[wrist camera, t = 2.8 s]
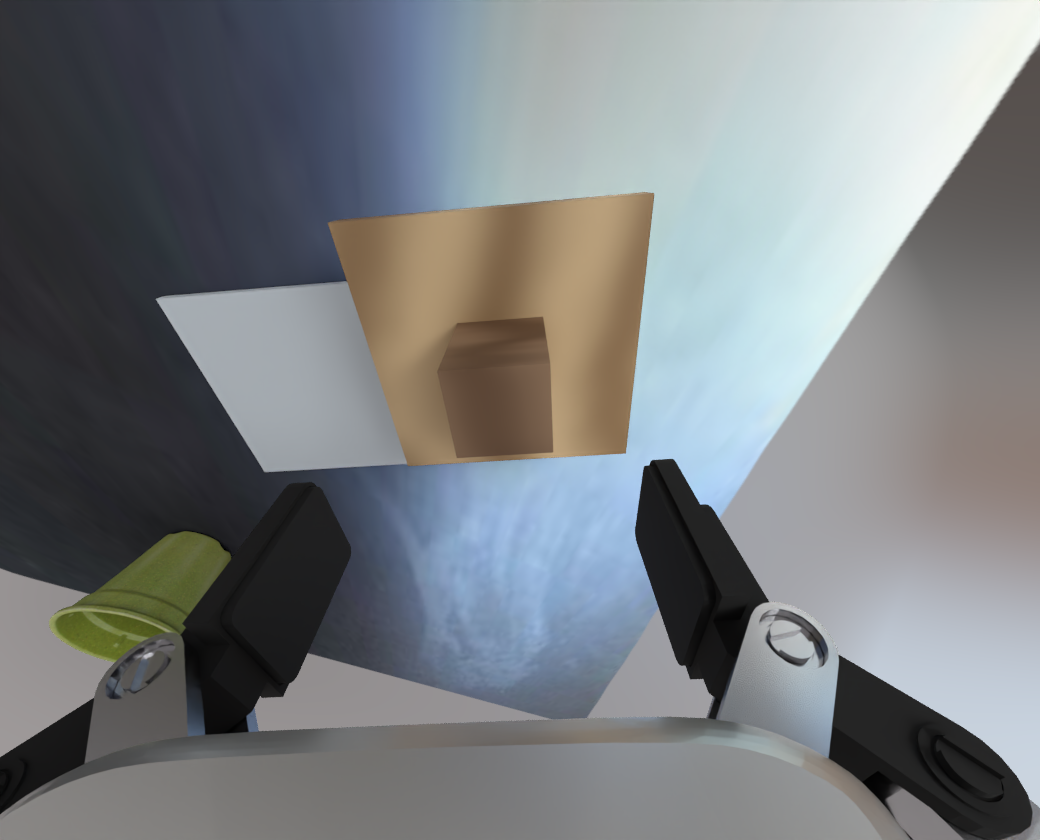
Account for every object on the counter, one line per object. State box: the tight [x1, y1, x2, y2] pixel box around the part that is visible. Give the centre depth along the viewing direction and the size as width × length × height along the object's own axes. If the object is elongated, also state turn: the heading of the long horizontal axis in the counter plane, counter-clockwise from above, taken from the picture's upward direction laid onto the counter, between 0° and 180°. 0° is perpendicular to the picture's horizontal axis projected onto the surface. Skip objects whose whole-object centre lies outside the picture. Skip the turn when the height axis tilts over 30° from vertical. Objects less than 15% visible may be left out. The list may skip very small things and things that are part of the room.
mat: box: [156, 281, 407, 472], centre depth 26 cm, size 14×14×1 cm
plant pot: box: [49, 531, 231, 662], centre depth 33 cm, size 9×9×9 cm
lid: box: [328, 192, 654, 466], centre depth 16 cm, size 13×13×6 cm
